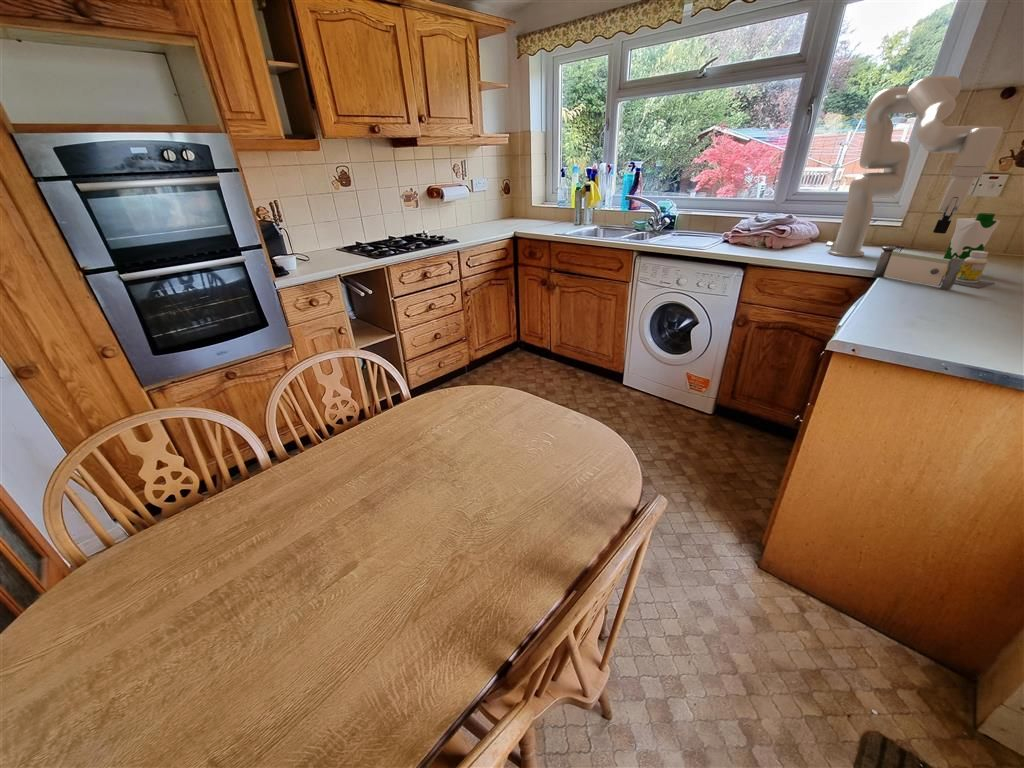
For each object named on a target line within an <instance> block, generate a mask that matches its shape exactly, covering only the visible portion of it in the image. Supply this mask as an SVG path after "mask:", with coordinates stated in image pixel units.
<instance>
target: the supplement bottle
mask: <svg viewBox="0 0 1024 768" xmlns="http://www.w3.org/2000/svg"><path fill="white" fill-rule="evenodd" d="M988 254H989V252H988V251H985V250H984V251H971V253H970V257H968V258H966V259H965V260H964V262H963V264H962V267H961V269H960V271H959V273H958V275H957V278H956V280H957V281H960V282H965V283H977V282H978V280H980V278H981V275H982V274H983V271H984V270H985V268H986V265H987V264H988V259H987V256H988Z"/></svg>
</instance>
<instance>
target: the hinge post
mask: <svg viewBox="0 0 1024 768" xmlns="http://www.w3.org/2000/svg"><path fill="white" fill-rule="evenodd" d="M881 249H882V250H881V253H880V256H879V258H878V262H877V264H876V267H875V270H874V272H873V277H875V278H884V277H885V276H884V273H885V271H886V268H887V265H888V263H889V260H890V257H891V254H892V252H894V250H896V249H897V247H896V246H890V245H883V246H881Z"/></svg>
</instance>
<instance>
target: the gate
mask: <svg viewBox="0 0 1024 768" xmlns="http://www.w3.org/2000/svg"><path fill="white" fill-rule="evenodd" d="M951 261H952V260H950V259H944V257H943V258H942V257H937V256H930V255H923V254H915V253H911V252H910V253H909V252H901V251H893V252H892V254H891V257H890V260H889V263H888V265H887V268H886V271H885V273H884V277H886V278H892V279H896V280H903V281H908V282H912V283H918V284H923V285H928V286H932V287H933V286H934V287H937V288H938V287H941V285H942V281H943V280H944V278H945V276H943V275H942V273H943V271H944V268H946V267H949V265H950V263H951Z"/></svg>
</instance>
